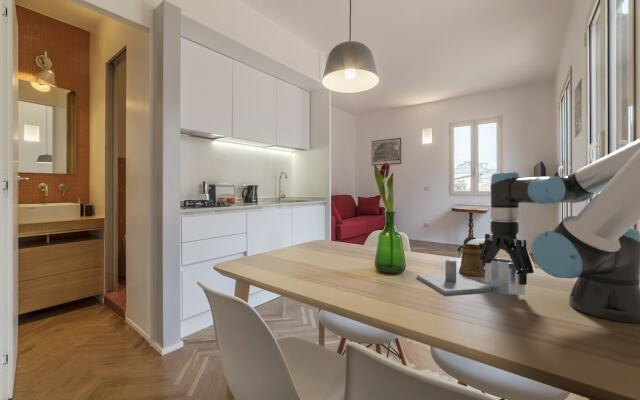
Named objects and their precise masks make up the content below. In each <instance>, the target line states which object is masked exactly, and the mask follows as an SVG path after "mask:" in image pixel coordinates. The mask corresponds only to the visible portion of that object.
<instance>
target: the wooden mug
mask: <svg viewBox="0 0 640 400" xmlns="http://www.w3.org/2000/svg"><path fill="white" fill-rule="evenodd" d="M489 234H493V232H491V231H490V232H489ZM484 242H485V240H484V241H483V242H482V243H478V244H473V243H463V245H462V248H461V252H462V253H461V259H460V260H461V261H460V267H459V269H458V272H459V273H458V274H460V275H463V276H468V277H484V276H485V263H484V261H483V260H481V259H480V254H481V251H482V248H483V245H484Z"/></svg>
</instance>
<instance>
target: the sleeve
mask: <svg viewBox="0 0 640 400" xmlns="http://www.w3.org/2000/svg"><path fill="white" fill-rule="evenodd" d="M491 263H492V282H491V292H493V293H496V294H498V295H503V296H504V295H505V296H516V295H515V273H517V270H516V268H515V266H514V264H513V262H512V260H511V258H510V259H509V258H502V257H498V258H496V257H495V258H494V259H492V262H491Z"/></svg>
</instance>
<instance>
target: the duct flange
mask: <svg viewBox="0 0 640 400" xmlns="http://www.w3.org/2000/svg"><path fill="white" fill-rule="evenodd" d="M444 263H445V265H444V266H445V268H444V269H445V270H444V271H445V272H438V273H421V274H416V279H418V280H420V281H421V282H423V283H425V284H427V285H429V286H430V287H432V288H434V289H435V290H437V291H438V292H440V293H442V294H443V295H446V296H449V295H450V296H451V295H462V294H473V293H483V292H484V293H486V292H492V287H490V286H487V285H486V284H483V283H481V282H478V281H477V280H474V279H472V278H470V277H467V276H466V275H464V274H461V273H458V272H457V260H455V259H445V262H444Z"/></svg>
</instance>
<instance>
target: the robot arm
mask: <svg viewBox="0 0 640 400" xmlns="http://www.w3.org/2000/svg"><path fill="white" fill-rule="evenodd" d="M489 187H490V219H491V221H490V233H491V232H493V234H490V233H484V241H485V242H484V241H483V243H484V245H483V248H482V251H481V254H480V259H481V260H483V261H484V263H485V266H484V270H485V275H484V276H485V278H484V279H485V280H484V281H485V283H492V259H495V258H496V256H497V254H499V252H500V250H503V251H505V252H506V254H508V255H509V258H510V260H512V262H513V264H514V266H515V268H516V273H515V295H514V296H524V295H526V285H527V284H528V279H527V278H528V274H534V267H533V265H532V262H531V261H532V260H531V259H530V255H529V252H528V248H527V240H526V239H519V238H517V235H518V234H519V229H520V227H519V222H518V220H519V210H520V209H519V205H520V203H521V204H522V203H523V204H538V205H550V204H553V205H554V204H557V203H559V204H560V203H562V204H563V203H571V204H576V203H577V204H578V203H581V202H586V201H588V200H590V201H589V202H588V203H587V204H586V205H585V206H584V207H583V208H582V209H581V210H580V212H579V213H577V215H569V216H568V215H567V216H566V217H564V218H563V219H562V220H561V221H560V222H559V223H558V225H556V226H555V228H554V229H553V230H550V231H549V230H547V231H544V232H542V233H539V234H538V235H536V237H535V238H534V240H533V241H532V246H531V252H532V256H533V259H534V261H535V262H536V264H537V266H538V267H539V268H540V269H541V270H542V271H543V272H544V273H546V274H547V275H549V276H550V277H553V278H554V277H555V278H558V279H570V280H571V279H576V278H577V279H576V281H575V283H574V286H573V287H572V289H571V291H570V294H569V298H568V302H569V303H568V304H569V306H570V307H572V308H574V309H575V310H577V311H578V312H579V311H580V312H582V313H585V314H587V315H590V316H593V317H596V318H601V319H605V320H610V321H615V322H621V323H631V324H640V231H639V230H638V229H635V228H633V226H635V225H636V224H637V223H638V222H639V221H640V138H639V139H636V140H635V141H632V142H631V143H628V144H626V145H625V146H622V147H620V148H619V149H617V150H615V151H613V152H611V153H609V154H607V155H605V156H603V157H602V158H599V159H596V160H595V161H593V162H590V163H589V164H587V165H585V166H584V167H581V168H579V169H577V170H576V171H574V172H572V173H569V174H567V175H566V176H549V175H548V176H544V175H542V176H533V177H532V176H531V177H520V174H519V172H517V171H516V172H515V171H507V172H495V173H493V174H492V175H491V178H490V186H489ZM595 194H596V195H595ZM594 195H595V196H594ZM593 196H594V197H593ZM591 198H592V199H591Z"/></svg>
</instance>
